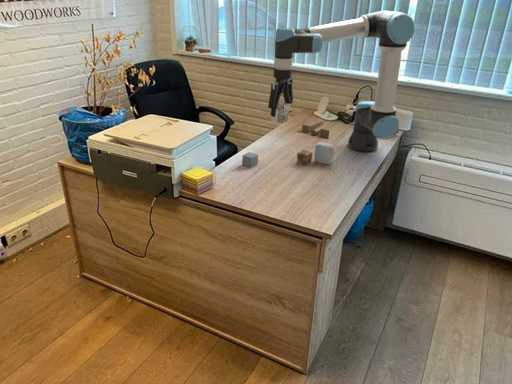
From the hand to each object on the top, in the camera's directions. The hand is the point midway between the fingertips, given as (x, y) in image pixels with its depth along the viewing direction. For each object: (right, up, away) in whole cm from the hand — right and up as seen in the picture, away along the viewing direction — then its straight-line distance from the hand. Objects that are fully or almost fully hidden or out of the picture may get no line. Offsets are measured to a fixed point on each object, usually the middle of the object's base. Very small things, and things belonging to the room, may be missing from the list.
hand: (280, 120), depth 188 cm
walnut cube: (+12, -18, +12) cm, 24 cm away
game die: (0, -1, 0) cm, 1 cm away
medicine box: (+21, -17, +13) cm, 30 cm away
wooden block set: (+26, +2, +52) cm, 59 cm away
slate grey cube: (-13, -19, +7) cm, 24 cm away
